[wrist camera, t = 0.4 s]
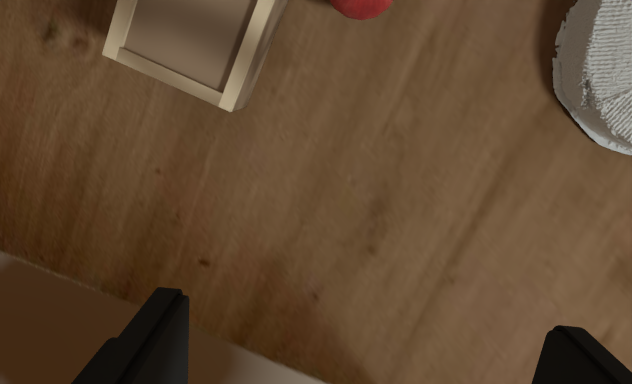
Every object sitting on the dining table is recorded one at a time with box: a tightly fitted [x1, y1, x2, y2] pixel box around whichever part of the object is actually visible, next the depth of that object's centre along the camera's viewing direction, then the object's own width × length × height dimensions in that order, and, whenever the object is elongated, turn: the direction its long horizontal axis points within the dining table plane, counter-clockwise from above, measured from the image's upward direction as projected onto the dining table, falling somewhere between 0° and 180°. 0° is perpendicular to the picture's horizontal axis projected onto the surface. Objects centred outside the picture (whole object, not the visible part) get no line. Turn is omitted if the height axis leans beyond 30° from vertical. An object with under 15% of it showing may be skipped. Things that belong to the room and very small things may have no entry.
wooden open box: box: [102, 0, 288, 112], centre depth 31 cm, size 10×10×7 cm
